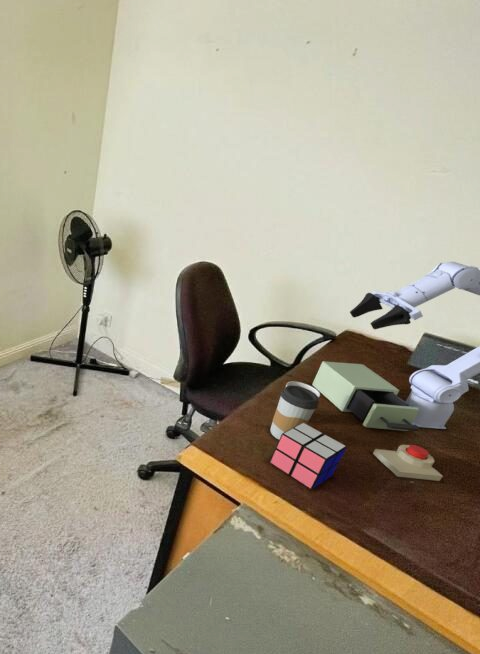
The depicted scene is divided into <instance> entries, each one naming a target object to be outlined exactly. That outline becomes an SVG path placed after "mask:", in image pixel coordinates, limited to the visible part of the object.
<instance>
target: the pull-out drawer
mask: <svg viewBox="0 0 480 654" xmlns="http://www.w3.org/2000/svg"><path fill="white" fill-rule="evenodd" d="M405 401H406V400H403V399H402V398H401V397H400V396H399V395H398V394H397V395H395V394H394V393H393V392H388V391H376V390H364V389H356V391H355V393H354V395H353V397H352V399H351V400H350V402H349V404H348V406H347V408H348V409H349V410H350V411H351V412H350V413H352V414H353V415H354V416H356V417H357V418H358V419H359V420H360V421H361V422H363V423H362V426H363V427H365V428H373V429H381V430H382V429H383V430H391V431H403V432H405V431H406V432H408V431H412V432H418V431H419V430H420V427H418V426H417V425H412V423H413V421H414V419H415V418H416V416H417V414H418V413H419V411H420V409H418V408H417V407H408V406H409V404H408V403H407V402H405Z"/></svg>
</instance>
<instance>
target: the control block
mask: <svg viewBox="0 0 480 654" xmlns="http://www.w3.org/2000/svg"><path fill="white" fill-rule="evenodd" d="M410 445H411V444H400V445H399V446H398V447H397V449H396V450H390V449H389V450H388V449H379V448H375V449H374V451H373V452H372V455H373V456H374V457H375V458H376V459H378V460H379V461H380V462H381V463H382V464H383V465H384V466H385V467H386V468H387V469H388V470H389V471H391V472H392V473H393V474H394V475H395V476H396V477H397V478H398V477H399V478H407V479H418V480H426V481H435V482H436V481H437V482H440V481H441V480H442V478H443V477H444V476H443V475H442V474H441V473H440V472H439V471H438V470H437V469H435V468H434V467H433V465H434V464H435V459H434V457H433V456H431V454H430V453H429V454H428V456H427V457H426V459H425V460H422V459H419V458H416V457H414V456H412V455H410V454H409V453H407V449H408V447H409V446H410Z"/></svg>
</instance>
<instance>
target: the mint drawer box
mask: <svg viewBox="0 0 480 654" xmlns="http://www.w3.org/2000/svg"><path fill="white" fill-rule="evenodd" d="M311 386H312V387H313V388H315V389H316V390H318V391H319V393H320V394H322V395H323V396H324V398H326V399H328V400H329V401H330V403H332V404H333V405H334V406H335V407H336V408H337V409H338V410H339V411H341V412H344V413H352V412H351V411H350V410H349V409H348V408H347V406H348V404H349V402H350V400H351V399H352V397H353V395H354V393H355V391H356V389H364V390H376V391H388V392H393V393H394V394H395V395H397V396H398V394H399V392H400V389H398V388H397V387H396V386H394V385H393V384H392V383H390V382H389V381H387V380H386V379H384V378H383V377H381V376H380V375H379V374H377V373H375V372H374V371H373V370H372V369H370V368H368V367H367V366H366V365H365V364H363V363H362V364H361V363H350V362H349V363H348V362H338V361H321V364H320V365H319V369H318V371H317V373H316V375H315V377H314V379H313V382H312V385H311Z"/></svg>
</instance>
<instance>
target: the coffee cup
mask: <svg viewBox="0 0 480 654" xmlns="http://www.w3.org/2000/svg"><path fill="white" fill-rule="evenodd" d="M285 387H286V386H285ZM285 387H284V388H283V389H282V390H281V392H280V397H279V401H278V404H277V406H276V408H275V412H274V414H273V418H272V423H271V426H270V429H269V430H270V434H271V435H272V437H274V438H275V439H277V440H279V439H280V437H281V435H282V433H284V432H286V431H288V430H290V429H292V428H293V427H295V426H297V425H299V424H301V423H304V424H306V425H308V423H309V421H310V419H311V417H312V415H313V414H314V412H315V411H316V409H317V408H318V406H319V402H320V401H319V398H318V396H317V395H316V394H315V393H313V392H312V391H310V390H308V389H306V388H303V387H299V386H294V385H290V386H287V387H286V388H285Z"/></svg>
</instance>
